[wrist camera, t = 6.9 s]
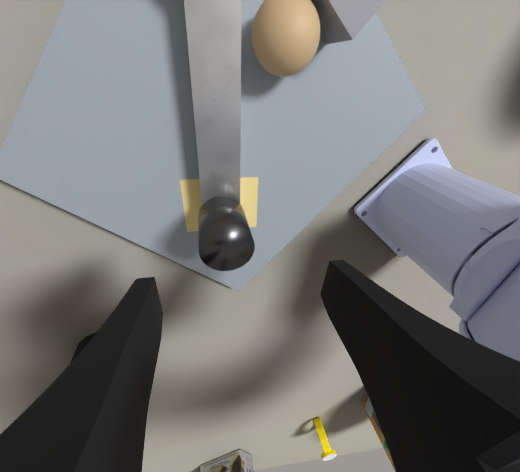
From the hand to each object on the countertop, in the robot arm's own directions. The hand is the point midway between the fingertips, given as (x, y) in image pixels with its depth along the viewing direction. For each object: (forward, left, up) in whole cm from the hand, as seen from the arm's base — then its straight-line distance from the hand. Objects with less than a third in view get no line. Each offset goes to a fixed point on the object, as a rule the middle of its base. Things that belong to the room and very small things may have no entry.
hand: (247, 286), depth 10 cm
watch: (-45, +28, -10) cm, 54 cm away
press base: (+2, -3, -10) cm, 11 cm away
